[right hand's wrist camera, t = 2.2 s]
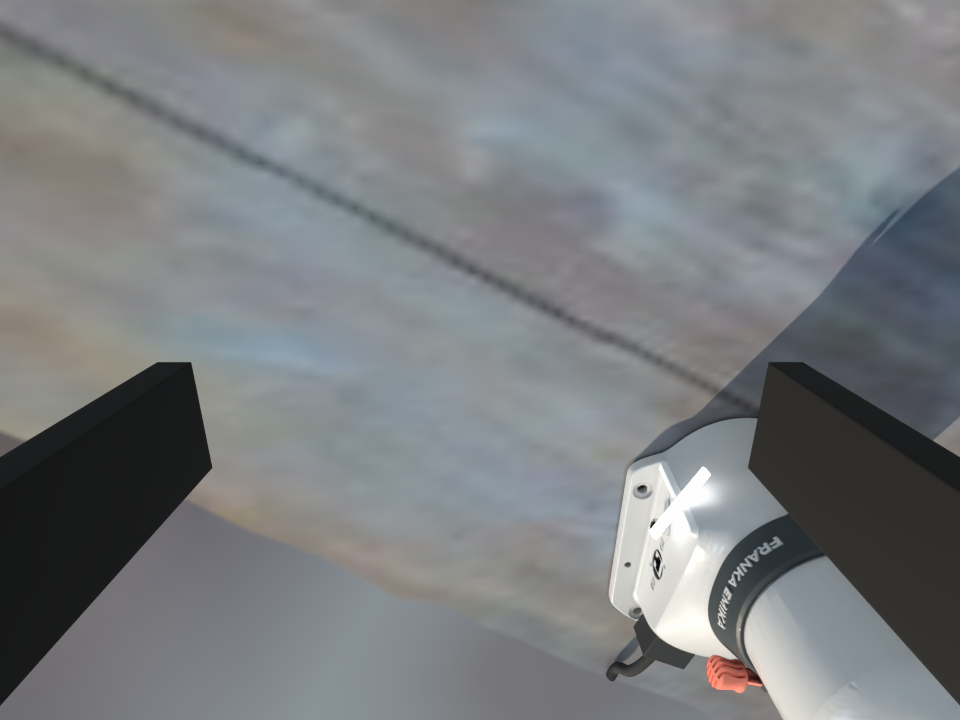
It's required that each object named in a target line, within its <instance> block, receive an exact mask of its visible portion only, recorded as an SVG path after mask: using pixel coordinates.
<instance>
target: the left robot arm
mask: <svg viewBox="0 0 960 720" xmlns="http://www.w3.org/2000/svg"><path fill="white" fill-rule="evenodd" d="M756 424H757V418H736V419H729V420H724V421H720V422H716V423H713V424H710V425H707V426H705V427H703V428H701V429H699V430H696V431H695V432H693V433H691V434H689V435H688V436H686V437H685V438H683V439H682V440H681V441H679V442H678V443H677V444H675V445H674V446H673V447H671V448H670V449H668V450H666V451H664V452H662V453H659V454H655V455H652V456H649V457H646V458H643V459H640V460H638V461H636V462H634V463H633V464H632V465H631V466H630V467H629V469H628V471H627V476H626V483H625V489H624V495H623V502H622V508H621V515H620V521H619V528H618V534H617V541H616V547H615V553H614V560H613V566H612V573H611V579H610V586H609V598H610V600H611V602H612V604H613V605H614V606H615V607H616V608H617V609H618V610H619V611H620V612H622V613H623V614H625V615H626V616H628V617H630V618H632V619H634V620H636V621H637V622H636V624H635V625H634V629H635V632H636V635H637V638H638V641H639V644H640V647H641V650H642V653H643V656H642V657H640V658H639V659H638V660H637V661H636V662H634V663H632V664H630V665H626V664H624V663H621V662H615V663H613V664H612V665H611V666H610V667H609V669H608V671H607V673H606V676H607V678H608V679H609V680H610V681H614V680H615V679H616V677H617V675H618V674H619V673H620V674H622V675H624V676H627V677H633V676H636V675H638V674H639V673H641V672H642V671H644V670H645V669H646V668H647V667H648V666H649V665H650V664H652V663H653V662H654V661H655V660H657V661H660V662H663V663H666V664H669V665H672V666H675V667H678V668H681V669H684V668H685V667H686V666H687V664H688V663H689V662H690V661H691V659H692V658H693V657H694V655H695V654H696V655H700V656H705V657H710V658H709V660H708V664H707V670H708V672H707V674H708V677H709V681H710V683H712V686H713V687H714V688H716V689H722V690H725V689H732V690H734V691H736V692H738V693H742V692H743V691H745V689H746V687H747V684H750V685H756V686H761V688H762V690H763V691H765V692H768V693H769V695H770V696H771V698H772V700H773V702H774V704H775V705H776V707H777V709H778V711H779V713H780V714H781V716H782V718H783V720H960V705H959V704H958V703H957V702H956V701H955V700H954V699H953V697H952V696H951V695H950V694H949V693H948V692H947V691H946V690H945V688H944V687H943V686H942V685H941V684H940V683H939V682H938V681H937V680H936V678H935V677H934V676H933V675H932V674H931V673H930V672H929V671H928V669H927V668H926V667H925V666H924V665H923V664H922V663H921V662H920V660H919V659H918V658H917V657H916V656H915V655H914V654H913V653H912V651H911V650H910V649H909V648H908V647H907V646H906V645H905V644H904V642H903V641H902V640H901V639H900V638H899V637H898V636H897V635H896V634H895V632H894V631H893V630H892V629H891V628H890V627H889V626H888V625H887V623H886V622H885V621H884V620H883V619H882V618H881V617H880V616H879V614H878V613H877V612H876V611H875V610H874V609H873V608H872V607H871V605H870V604H869V603H868V602H867V601H866V600H865V599H864V598H863V597H862V595H861V594H860V593H859V592H858V591H857V590H856V589H855V588H854V586H853V585H852V584H851V583H850V582H849V581H848V580H847V579H846V577H845V576H844V575H843V574H842V573H841V572H840V571H839V570H838V568H837V567H836V566H835V565H834V564H833V563H832V562H831V561H830V559H829V558H828V557H827V556H826V555H825V554H824V553H823V552H822V551H821V549H820V548H819V547H818V546H817V545H816V544H815V543H814V542H813V540H812V539H811V538H810V537H809V536H808V535H807V534H806V533H805V531H804V530H803V529H802V528H801V527H800V526H799V525H798V524H797V522H796V521H795V520H794V519H793V518H792V517H791V516H790V515H789V514H788V512H787V511H786V510H785V509H784V508H783V507H782V506H781V505H780V503H779V502H778V501H777V500H776V499H775V498H774V497H773V496H772V494H771V493H770V492H769V491H768V490H767V489H766V488H765V487H764V485H763V484H762V483H761V482H760V481H759V480H758V479H757V478H756V477H755V475H754V474H753V473H752V472H751V471H750V470H749V469H748V464H749V459H750V454H751V449H752V444H753V439H754V434H755V429H756ZM640 485H645V486H644V487H643V488H641V489H638V487H639V486H640ZM743 663H744V664H745V665H746V666H747V667H748V668H746V667H745V665H744V664H743Z"/></svg>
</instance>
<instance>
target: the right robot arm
mask: <svg viewBox="0 0 960 720" xmlns="http://www.w3.org/2000/svg"><path fill="white" fill-rule="evenodd" d="M211 469H212V464H211V459H210V454H209V449H208V444H207V439H206V434H205V429H204V424H203V419H202V414H201V409H200V404H199V399H198V394H197V389H196V384H195V379H194V374H193V369H192V364H191V362H157V363H155V364H154V365H152V366H150V367H149V368H147V369H145V370H144V371H142V372H141V373H139V374H137V375H136V376H134V377H132V378H131V379H129V380H127V381H126V382H124V383H122V384H121V385H119V386H117V387H116V388H114V389H112V390H111V391H109V392H107V393H106V394H104V395H102V396H101V397H99V398H97V399H96V400H94V401H92V402H91V403H89V404H88V405H86V406H84V407H83V408H81V409H79V410H78V411H76V412H74V413H73V414H71V415H69V416H68V417H66V418H64V419H63V420H61V421H59V422H58V423H56V424H54V425H53V426H51V427H49V428H48V429H46V430H44V431H43V432H41V433H39V434H38V435H36V436H35V437H33V438H31V439H30V440H28V441H26V442H25V443H23V444H21V445H20V446H18V447H16V448H15V449H13V450H11V451H10V452H8V453H6V454H5V455H3V456H1V457H0V705H1V704H2V703H3V702H4V701H5V700H6V699H7V697H8V696H9V695H10V694H11V693H12V692H13V691H14V690H15V688H16V687H17V686H18V685H19V684H20V683H21V682H22V681H23V680H24V678H25V677H26V676H27V675H28V674H29V673H30V672H31V671H32V669H33V668H34V667H35V666H36V665H37V664H38V663H39V662H40V660H41V659H42V658H43V657H44V656H45V655H46V654H47V653H48V651H49V650H50V649H51V648H52V647H53V646H54V645H55V644H56V642H57V641H58V640H59V639H60V638H61V637H62V636H63V635H64V634H65V632H66V631H67V630H68V629H69V628H70V627H71V626H72V624H73V623H74V622H75V621H76V620H77V619H78V618H79V617H80V615H81V614H82V613H83V612H84V611H85V610H86V609H87V608H88V607H89V605H90V604H91V603H92V602H93V601H94V600H95V599H96V598H97V597H98V595H99V594H100V593H101V592H102V591H103V590H104V589H105V588H106V586H107V585H108V584H109V583H110V582H111V581H112V580H113V579H114V577H115V576H116V575H117V574H118V573H119V572H120V571H121V570H122V568H123V567H124V566H125V565H126V564H127V563H128V562H129V561H130V559H131V558H132V557H133V556H134V555H135V554H136V553H137V552H138V550H139V549H140V548H141V547H142V546H143V545H144V544H145V543H146V542H147V540H148V539H149V538H150V537H151V536H152V535H153V534H154V533H155V531H156V530H157V529H158V528H159V527H160V526H161V525H162V524H163V522H164V521H165V520H166V519H167V518H168V517H169V516H170V515H171V514H172V512H173V511H174V510H175V509H176V508H177V507H178V506H179V504H180V503H181V502H182V501H183V500H184V499H185V498H186V497H187V496H188V494H189V493H190V492H191V491H192V490H193V489H194V488H195V487H196V485H197V484H198V483H199V482H200V481H201V480H202V479H203V478H204V477H205V475H206V474H207V473H208V472H209V471H210V470H211ZM748 469H749V470H750V471H751V472H752V473H753V474H754V475H755V477H756V478H757V479H758V480H759V481H760V482H761V483H762V484H763V485H764V487H765V488H766V489H767V490H768V491H769V492H770V493H771V494H772V496H773V497H774V498H775V499H776V500H777V501H778V502H779V503H780V505H781V506H782V507H783V508H784V509H785V510H786V511H787V512H788V514H789V515H790V516H791V517H792V518H793V519H794V520H795V521H796V522H797V524H798V525H799V526H800V527H801V528H802V529H803V530H804V531H805V533H806V534H807V535H808V536H809V537H810V538H811V539H812V540H813V542H814V543H815V544H816V545H817V546H818V547H819V548H820V549H821V551H822V552H823V553H824V554H825V555H826V556H827V557H828V558H829V559H830V561H831V562H832V563H833V564H834V565H835V566H836V567H837V568H838V570H839V571H840V572H841V573H842V574H843V575H844V576H845V577H846V579H847V580H848V581H849V582H850V583H851V584H852V585H853V586H854V588H855V589H856V590H857V591H858V592H859V593H860V594H861V595H862V597H863V598H864V599H865V600H866V601H867V602H868V603H869V604H870V605H871V607H872V608H873V609H874V610H875V611H876V612H877V613H878V614H879V616H880V617H881V618H882V619H883V620H884V621H885V622H886V623H887V625H888V626H889V627H890V628H891V629H892V630H893V631H894V632H895V634H896V635H897V636H898V637H899V638H900V639H901V640H902V641H903V642H904V644H905V645H906V646H907V647H908V648H909V649H910V650H911V651H912V653H913V654H914V655H915V656H916V657H917V658H918V659H919V660H920V662H921V663H922V664H923V665H924V666H925V667H926V668H927V669H928V671H929V672H930V673H931V674H932V675H933V676H934V677H935V678H936V680H937V681H938V682H939V683H940V684H941V685H942V686H943V687H944V688H945V690H946V691H947V692H948V693H949V694H950V695H951V696H952V697H953V699H954V700H955V701H956V702H957V703H958V704H959V705H960V457H959V456H957V455H955V454H954V453H952V452H950V451H949V450H947V449H945V448H944V447H942V446H940V445H939V444H937V443H935V442H934V441H932V440H930V439H929V438H927V437H925V436H924V435H922V434H921V433H919V432H917V431H916V430H914V429H912V428H911V427H909V426H907V425H906V424H904V423H902V422H901V421H899V420H897V419H896V418H894V417H892V416H891V415H889V414H887V413H886V412H884V411H882V410H881V409H879V408H877V407H876V406H874V405H872V404H871V403H869V402H868V401H866V400H864V399H863V398H861V397H859V396H858V395H856V394H854V393H853V392H851V391H849V390H848V389H846V388H844V387H843V386H841V385H839V384H838V383H836V382H834V381H833V380H831V379H829V378H828V377H826V376H824V375H823V374H821V373H819V372H818V371H816V370H815V369H813V368H811V367H810V366H808V365H806V364H805V363H803V362H769V364H768V369H767V374H766V379H765V384H764V389H763V394H762V399H761V404H760V409H759V414H758V419H757V424H756V429H755V434H754V439H753V444H752V449H751V454H750V459H749V464H748Z"/></svg>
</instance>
